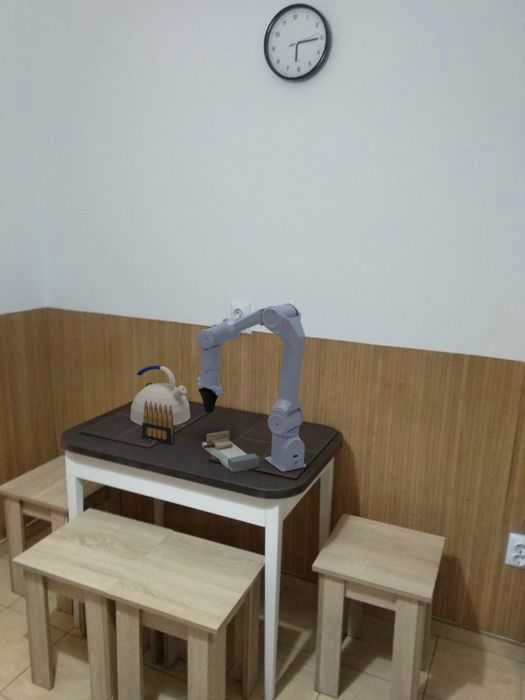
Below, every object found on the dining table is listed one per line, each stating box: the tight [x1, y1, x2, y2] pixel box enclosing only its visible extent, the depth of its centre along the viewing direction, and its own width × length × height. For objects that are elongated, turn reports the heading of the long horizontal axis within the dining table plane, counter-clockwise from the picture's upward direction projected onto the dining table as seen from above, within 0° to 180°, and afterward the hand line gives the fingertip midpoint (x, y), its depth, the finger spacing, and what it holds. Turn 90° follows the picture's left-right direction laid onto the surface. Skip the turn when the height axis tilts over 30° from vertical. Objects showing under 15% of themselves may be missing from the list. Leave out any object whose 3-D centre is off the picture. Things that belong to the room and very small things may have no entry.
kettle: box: [129, 365, 191, 426], centre depth 182 cm, size 20×21×18 cm
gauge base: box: [201, 441, 260, 474], centre depth 152 cm, size 20×8×3 cm, turn 30°
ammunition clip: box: [141, 400, 176, 446], centre depth 161 cm, size 11×2×12 cm, turn 65°
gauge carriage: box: [203, 430, 234, 449], centre depth 156 cm, size 5×9×3 cm, turn 120°
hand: (209, 411), depth 163 cm, fingers closed
